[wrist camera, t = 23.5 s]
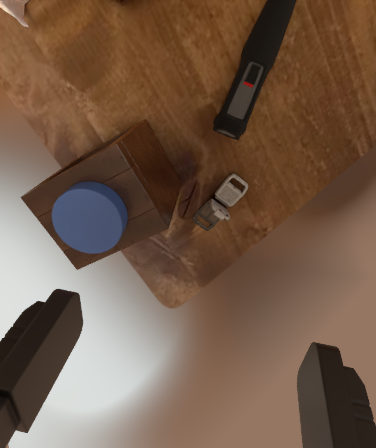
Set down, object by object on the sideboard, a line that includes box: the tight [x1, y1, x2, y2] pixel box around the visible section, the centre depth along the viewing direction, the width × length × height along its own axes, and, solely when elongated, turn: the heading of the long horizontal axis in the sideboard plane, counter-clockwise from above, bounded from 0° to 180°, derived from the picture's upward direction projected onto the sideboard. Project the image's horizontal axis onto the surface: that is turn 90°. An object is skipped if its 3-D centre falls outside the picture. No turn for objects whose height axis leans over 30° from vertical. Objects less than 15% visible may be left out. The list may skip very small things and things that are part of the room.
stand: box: [21, 119, 182, 270], centre depth 37 cm, size 9×11×13 cm
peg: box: [52, 182, 128, 254], centre depth 34 cm, size 6×6×10 cm
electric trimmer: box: [213, 0, 296, 140], centre depth 35 cm, size 4×16×3 cm, turn 159°
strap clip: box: [193, 174, 248, 231], centre depth 42 cm, size 8×3×4 cm, turn 143°
